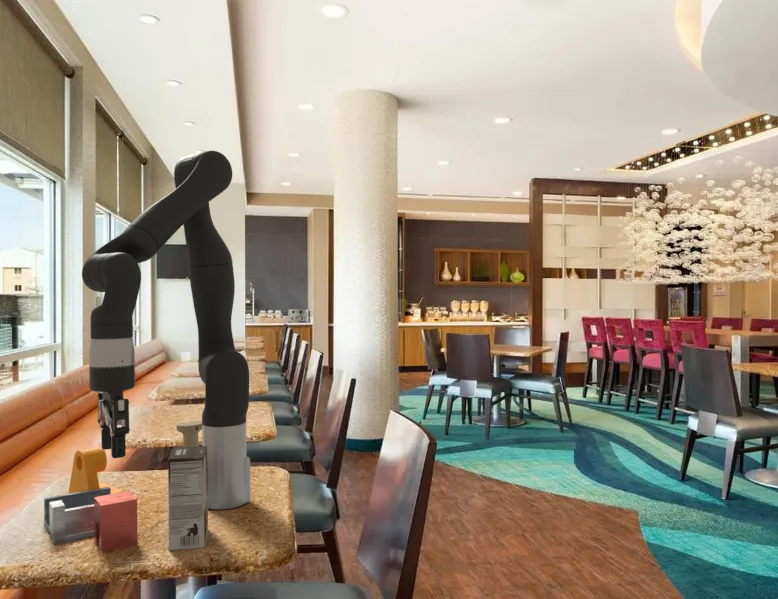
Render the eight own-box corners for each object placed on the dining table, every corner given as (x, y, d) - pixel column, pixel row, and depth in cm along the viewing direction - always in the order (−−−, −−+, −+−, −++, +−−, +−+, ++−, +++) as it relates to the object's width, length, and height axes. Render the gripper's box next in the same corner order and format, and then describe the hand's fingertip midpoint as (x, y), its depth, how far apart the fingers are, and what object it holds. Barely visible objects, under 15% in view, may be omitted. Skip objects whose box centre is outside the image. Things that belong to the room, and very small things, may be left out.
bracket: (124, 503, 134) (124, 448, 134) (90, 512, 128) (90, 454, 128) (102, 494, 141) (101, 441, 141) (69, 501, 135) (68, 447, 135)
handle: (173, 489, 144) (172, 424, 144) (196, 482, 149) (196, 420, 149) (185, 492, 141) (184, 426, 141) (209, 486, 146) (208, 422, 146)
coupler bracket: (109, 510, 129) (109, 481, 129) (125, 529, 118) (125, 498, 118) (44, 522, 122) (43, 492, 122) (54, 544, 111) (54, 511, 111)
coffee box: (173, 532, 116) (172, 446, 116) (209, 529, 118) (208, 444, 118) (167, 551, 107) (166, 458, 107) (206, 547, 109) (205, 455, 109)
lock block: (129, 533, 116) (128, 491, 116) (137, 543, 111) (137, 499, 111) (94, 541, 112) (93, 497, 112) (101, 551, 107) (100, 505, 108)
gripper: (144, 364, 108) (145, 457, 108) (125, 359, 120) (125, 443, 120) (97, 367, 104) (98, 464, 104) (82, 362, 116) (83, 448, 115)
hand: (113, 452), depth 112 cm, fingers open, 8 cm apart
